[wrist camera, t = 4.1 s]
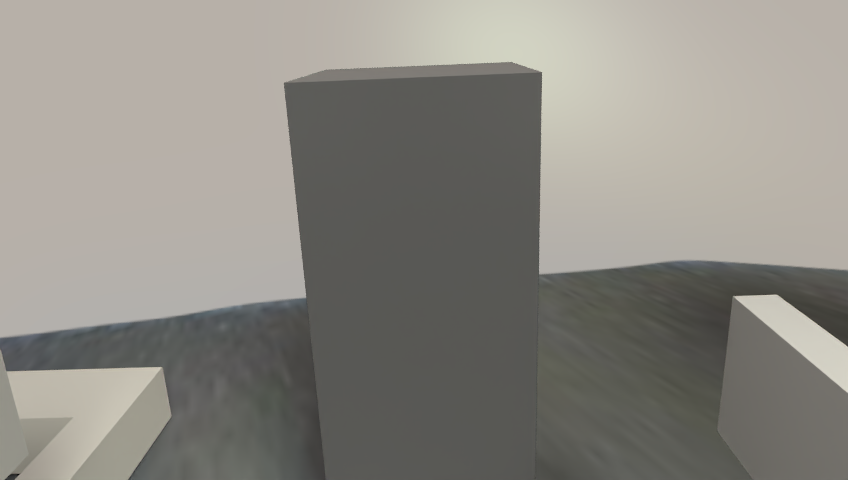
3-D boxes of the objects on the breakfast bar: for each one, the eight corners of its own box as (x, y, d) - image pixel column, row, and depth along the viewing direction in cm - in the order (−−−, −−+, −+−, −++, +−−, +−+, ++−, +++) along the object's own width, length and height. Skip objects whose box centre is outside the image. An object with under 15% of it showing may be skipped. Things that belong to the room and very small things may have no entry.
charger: (510, 474, 19) (510, 61, 15) (533, 608, 15) (541, 72, 11) (361, 477, 19) (327, 69, 16) (339, 612, 15) (283, 82, 11)
